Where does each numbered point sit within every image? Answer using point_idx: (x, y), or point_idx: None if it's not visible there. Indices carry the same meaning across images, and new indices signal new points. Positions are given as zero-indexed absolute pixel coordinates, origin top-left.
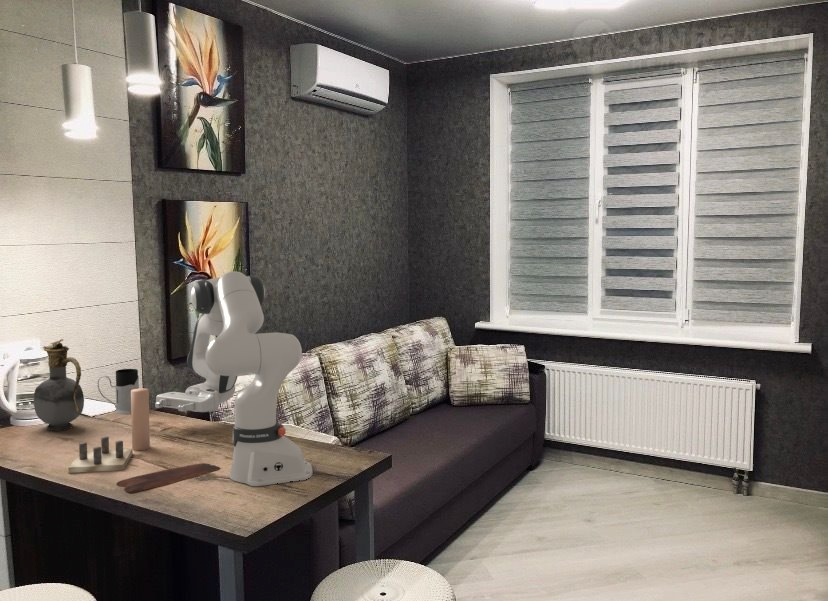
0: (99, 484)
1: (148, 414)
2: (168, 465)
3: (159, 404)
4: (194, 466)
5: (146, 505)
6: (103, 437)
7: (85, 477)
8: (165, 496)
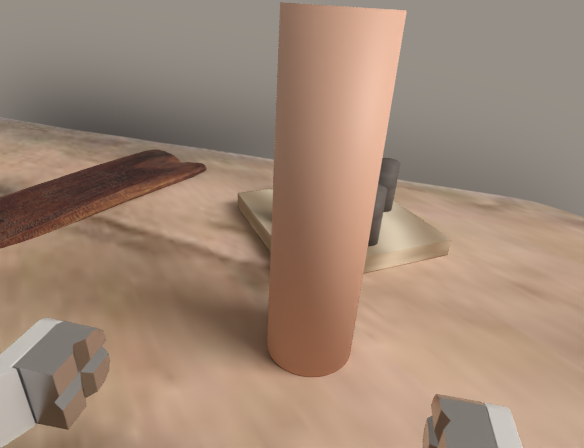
0: (242, 167)
1: (273, 180)
2: (110, 233)
3: (432, 412)
4: (11, 223)
5: (109, 136)
6: (379, 188)
7: None
8: (80, 149)
